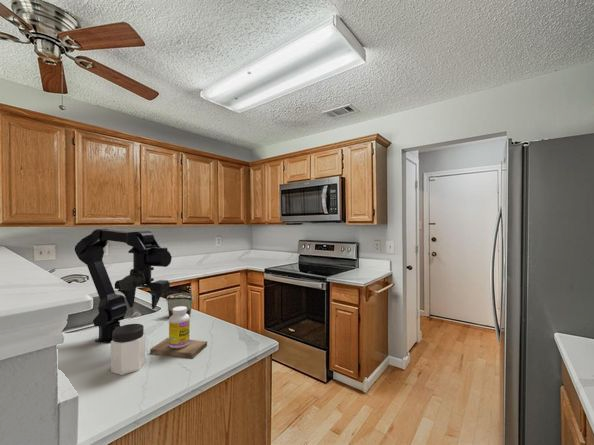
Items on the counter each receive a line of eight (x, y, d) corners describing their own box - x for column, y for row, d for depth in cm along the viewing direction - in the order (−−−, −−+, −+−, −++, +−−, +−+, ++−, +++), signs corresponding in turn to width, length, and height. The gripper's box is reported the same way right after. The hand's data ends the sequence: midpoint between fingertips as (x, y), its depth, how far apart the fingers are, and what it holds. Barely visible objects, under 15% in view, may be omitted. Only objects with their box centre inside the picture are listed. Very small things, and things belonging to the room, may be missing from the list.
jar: (105, 371, 82) (105, 331, 82) (130, 358, 90) (130, 321, 90) (126, 377, 79) (126, 336, 79) (150, 363, 86) (150, 325, 86)
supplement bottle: (178, 350, 92) (178, 312, 92) (164, 346, 95) (164, 309, 94) (193, 342, 98) (193, 306, 98) (180, 339, 101) (180, 304, 101)
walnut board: (150, 353, 93) (150, 349, 93) (167, 341, 102) (167, 337, 102) (193, 358, 90) (193, 353, 90) (207, 345, 99) (207, 341, 99)
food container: (197, 313, 133) (197, 292, 133) (192, 317, 127) (192, 296, 126) (171, 313, 132) (171, 292, 132) (165, 318, 126) (165, 296, 126)
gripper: (101, 268, 94) (101, 313, 94) (149, 270, 90) (149, 317, 91) (126, 263, 105) (126, 304, 105) (170, 265, 101) (170, 307, 102)
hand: (142, 308), depth 100 cm, fingers open, 9 cm apart
